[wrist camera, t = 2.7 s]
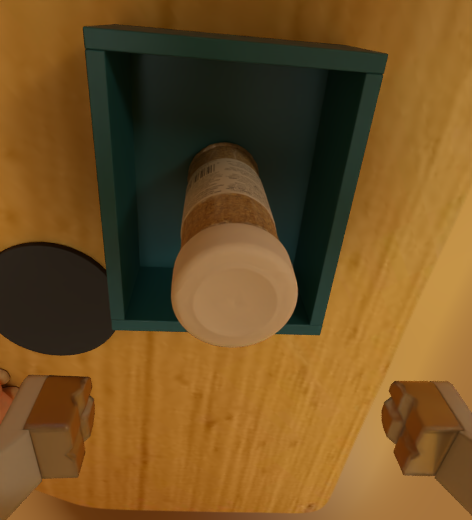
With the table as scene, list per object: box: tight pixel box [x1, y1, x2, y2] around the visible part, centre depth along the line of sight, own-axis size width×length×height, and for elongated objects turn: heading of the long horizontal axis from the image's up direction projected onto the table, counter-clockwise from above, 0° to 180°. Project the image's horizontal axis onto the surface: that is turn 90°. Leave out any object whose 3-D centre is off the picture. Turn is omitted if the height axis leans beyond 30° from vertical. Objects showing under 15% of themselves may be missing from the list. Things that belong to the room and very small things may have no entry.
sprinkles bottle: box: [171, 142, 298, 347], centre depth 20 cm, size 5×5×14 cm
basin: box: [83, 24, 388, 335], centre depth 23 cm, size 16×13×6 cm
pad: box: [0, 242, 115, 356], centre depth 30 cm, size 10×10×1 cm
